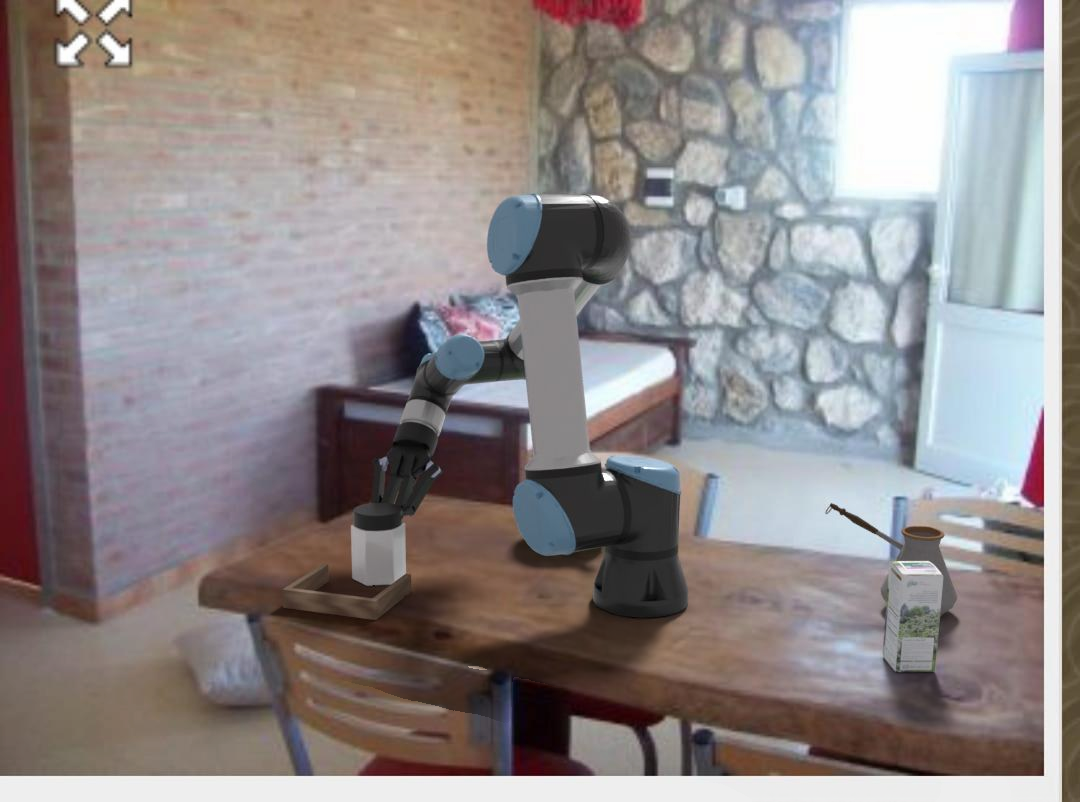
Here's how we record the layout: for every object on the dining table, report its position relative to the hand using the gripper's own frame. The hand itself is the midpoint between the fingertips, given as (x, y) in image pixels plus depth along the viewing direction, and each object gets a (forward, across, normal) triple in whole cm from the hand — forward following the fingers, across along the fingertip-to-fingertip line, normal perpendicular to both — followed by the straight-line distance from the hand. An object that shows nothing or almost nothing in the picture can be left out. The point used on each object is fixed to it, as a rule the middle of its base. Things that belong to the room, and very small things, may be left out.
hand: (379, 547), depth 201 cm
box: (+12, -1, +6) cm, 13 cm away
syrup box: (+10, -86, +4) cm, 87 cm away
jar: (+5, -1, -2) cm, 5 cm away
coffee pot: (-7, -82, -13) cm, 84 cm away
